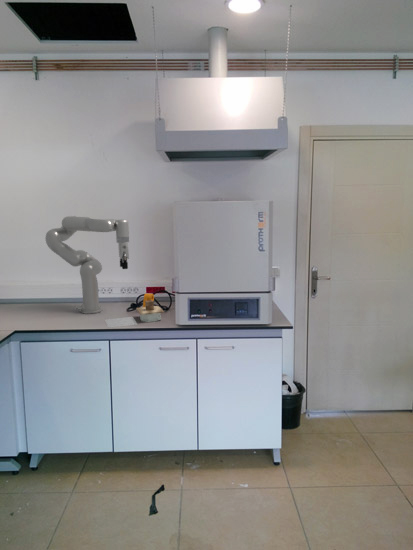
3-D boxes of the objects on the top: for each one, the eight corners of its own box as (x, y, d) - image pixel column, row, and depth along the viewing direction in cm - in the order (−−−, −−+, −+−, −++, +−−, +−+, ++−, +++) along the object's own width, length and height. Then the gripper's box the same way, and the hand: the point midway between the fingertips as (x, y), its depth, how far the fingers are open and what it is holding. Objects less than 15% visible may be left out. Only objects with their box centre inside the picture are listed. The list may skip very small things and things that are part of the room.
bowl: (142, 323, 217) (142, 314, 216) (139, 318, 227) (138, 309, 226) (162, 321, 221) (162, 312, 220) (157, 316, 231) (157, 307, 230)
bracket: (153, 315, 234) (153, 296, 232) (142, 314, 236) (141, 295, 234) (159, 310, 244) (159, 292, 242) (149, 309, 246) (148, 291, 244)
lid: (140, 315, 214) (140, 305, 213) (136, 309, 227) (135, 299, 226) (163, 312, 219) (163, 302, 218) (158, 307, 232) (158, 297, 231)
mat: (108, 328, 208) (108, 327, 208) (105, 320, 223) (105, 319, 223) (137, 325, 213) (137, 324, 213) (132, 317, 228) (132, 316, 228)
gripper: (131, 240, 226) (132, 269, 229) (126, 238, 242) (127, 265, 245) (118, 241, 223) (119, 270, 226) (114, 239, 239) (115, 266, 242)
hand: (123, 267), depth 236 cm, fingers open, 9 cm apart
